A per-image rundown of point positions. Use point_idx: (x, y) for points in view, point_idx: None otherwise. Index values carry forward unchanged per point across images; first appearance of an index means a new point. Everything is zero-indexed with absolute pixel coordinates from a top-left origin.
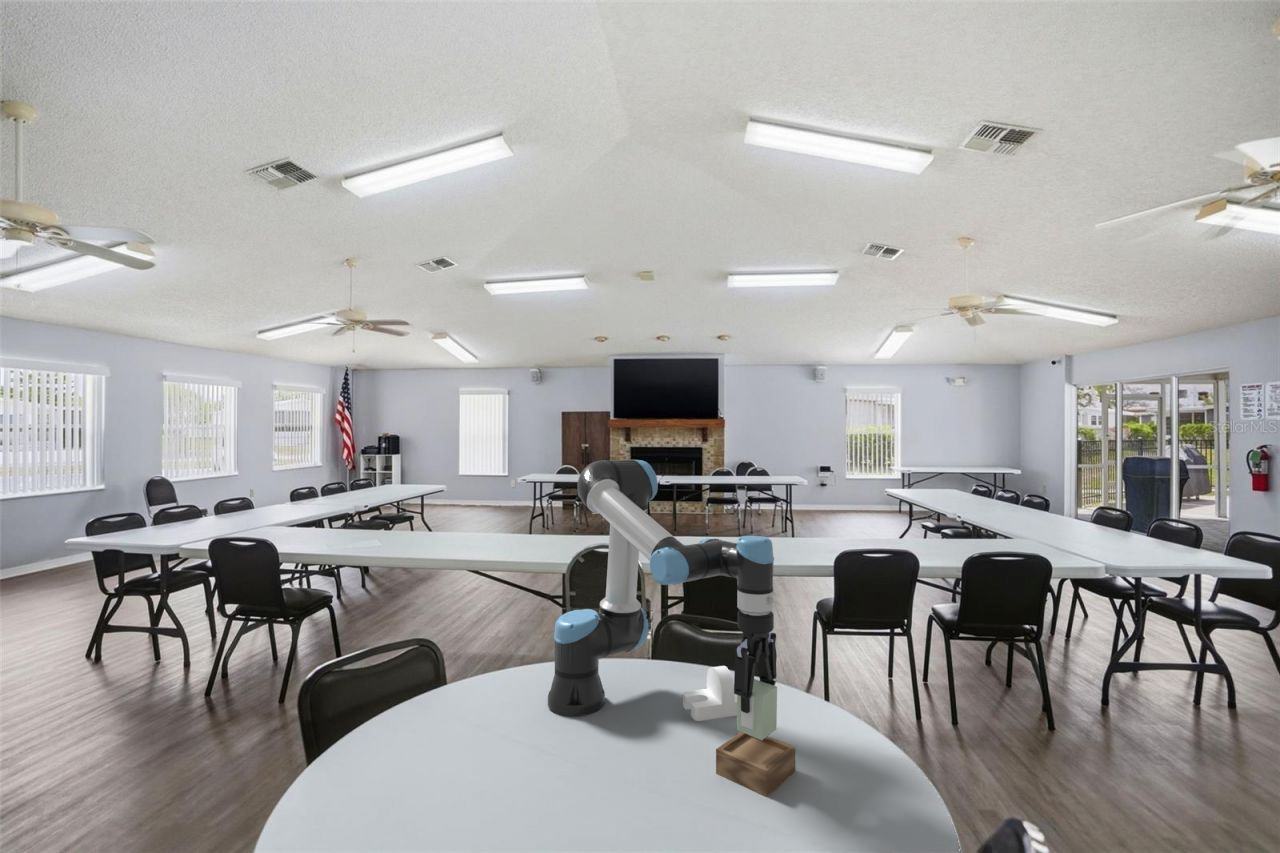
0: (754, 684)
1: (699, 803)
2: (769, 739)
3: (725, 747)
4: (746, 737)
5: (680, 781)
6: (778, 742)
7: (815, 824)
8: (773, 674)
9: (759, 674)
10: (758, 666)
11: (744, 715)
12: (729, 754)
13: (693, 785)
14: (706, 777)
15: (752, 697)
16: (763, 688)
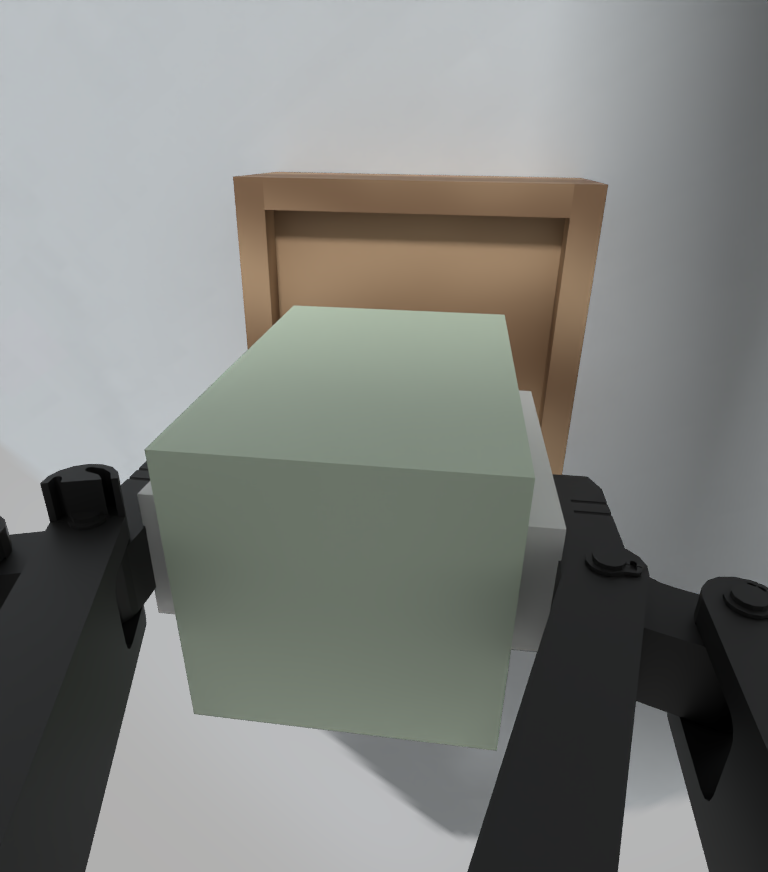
0: (373, 568)
1: (54, 248)
2: (552, 377)
3: (295, 210)
4: (539, 219)
5: (91, 62)
6: (548, 431)
7: None
8: (678, 744)
9: (547, 622)
10: (509, 745)
11: None
12: (246, 276)
13: (119, 142)
14: (215, 153)
15: (163, 610)
16: (350, 671)
